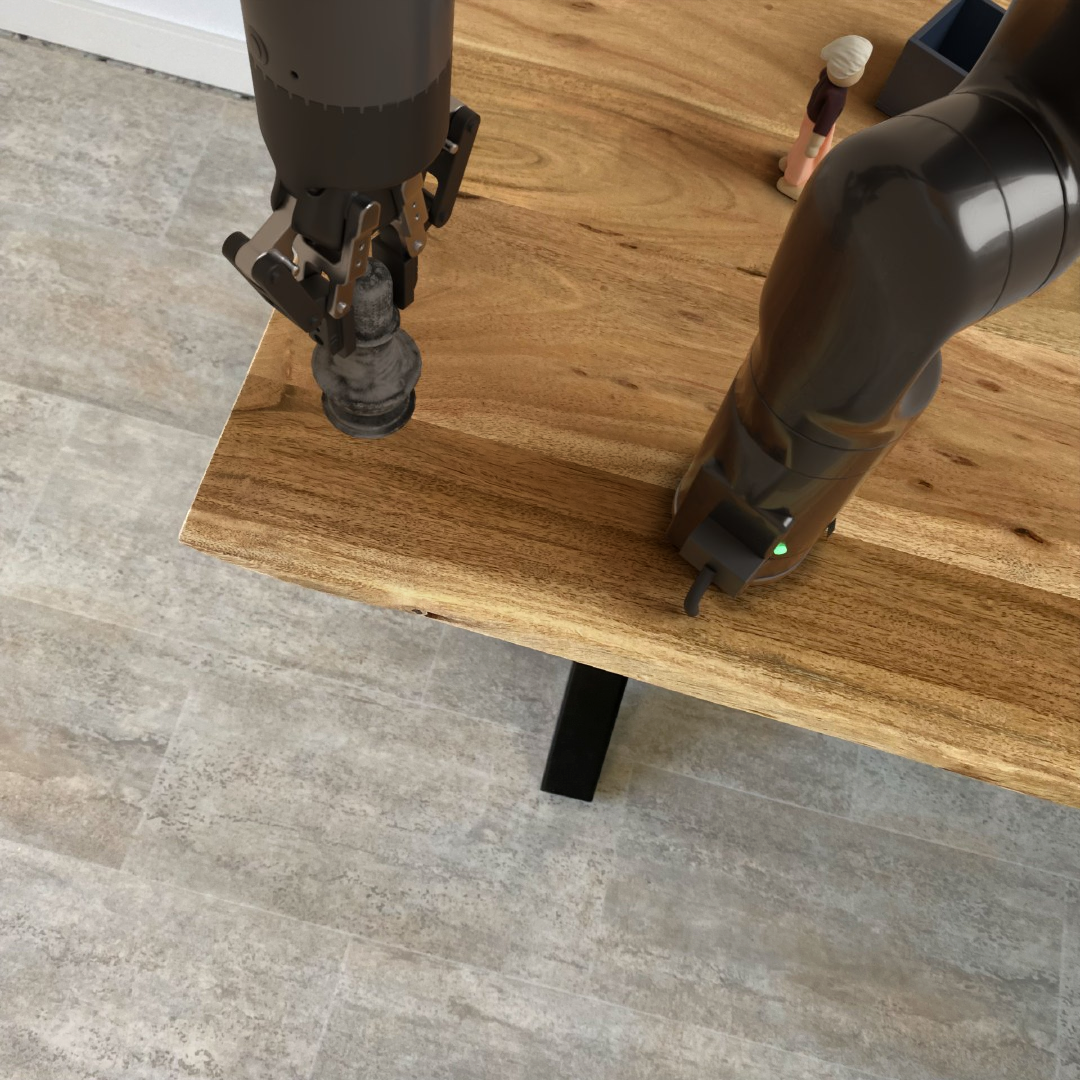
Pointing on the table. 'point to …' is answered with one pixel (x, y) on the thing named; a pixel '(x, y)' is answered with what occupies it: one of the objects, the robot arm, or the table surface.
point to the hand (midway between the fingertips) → (365, 319)
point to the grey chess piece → (371, 364)
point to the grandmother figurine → (823, 111)
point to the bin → (940, 55)
